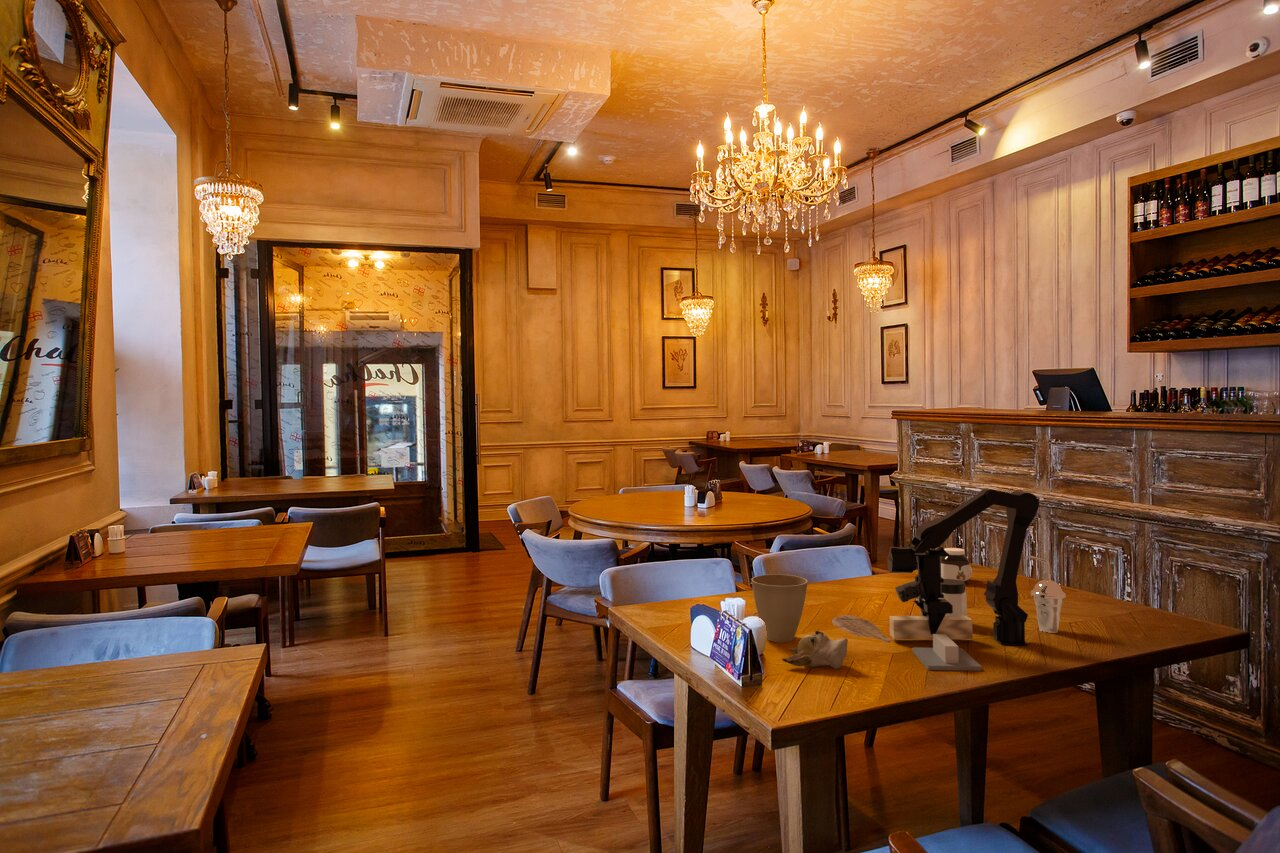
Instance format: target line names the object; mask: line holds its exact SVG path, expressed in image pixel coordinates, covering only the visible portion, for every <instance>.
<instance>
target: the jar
mask: <svg viewBox="0 0 1280 853" xmlns="http://www.w3.org/2000/svg"><path fill="white" fill-rule="evenodd" d="M941 589H942V593H943V594H944V598H939V599H946V600H947V601H948V602H949V603H950V604H951V605H952V606H953V613H951V614H949V613H946V615H945V616H968V615H967V614H968V613H967V612H968V611H967V610H968V609H967V608H968V607H967V591H966V583H964V582H963V581H960V580H955V579H944V583H941Z"/></svg>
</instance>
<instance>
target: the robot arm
mask: <svg viewBox="0 0 1280 853" xmlns="http://www.w3.org/2000/svg"><path fill="white" fill-rule="evenodd" d="M994 505H995V506H1000V507H1005V513H1006V518H1007V527H1006V532H1005V536H1004V541H1003V546H1002V551H1001V557H1000V559H999V566H998V570H997V575H996V576H995V578H994V579H993V581H991V580H990V579H989V580H987V581H986V589H985V591H984V593H983V595H984V596H985V602H986V603H987V605H988V606H989V608H992V611H993V613H994V614H995V615H996V616H995V617H994V619H995V621H994V622H993V623H992V624H993V626H992V629H993V633H992V634H993V636H992V639H993V640H995V641H996V642H998V643H999V644H1001V645H1002V646H1006V645H1007V646H1010V645H1011V646H1028V645H1029V644H1028V643H1029V642H1027V641H1026V635H1025V634H1026V629H1025V628H1026V627H1025V626H1026V622H1027V619H1028V616H1029V614H1028V613H1027V612H1026V611H1025V610H1023V609H1022V608H1021V606H1019V589H1018V586H1017V584H1018V583H1017V578H1018V574H1019V570H1020V569H1019V568H1020V564H1021V559H1022V556H1023V551H1024V545H1025V541H1026V536H1027V531H1028V528H1029V527H1030V525H1031V523H1032V522H1033V521H1034V519H1035V517H1036V516H1037V513H1038V512H1039V508H1040V500H1039V498H1038V497H1037V496H1036V495H1035V494H1034V493H1032V492H1027V491H1023V490H1018V489H1017V490H1013V491H1012V492H1007V491H1001V490H995V489H991V488H988V487H987V488H983V489H981V490H980V491H979V492H978V493H977V494H975V495H974V496H972V497H970V498H969V499H967V500H966V501H964V502H963V503H961V504H960V505H958V506H957V507H955V508H954V509H953V510H951V511H950V512H948V513H946V514H945V515H943V516H941V517H939V518H935V519H932V520H930V521H927V522H924V523H922V524H920V525H919V526H918V527H916V529H915V533H914V535H915V536H914V537H913V538H912V540H911V541H910V542H909V544H907V547H903V546H902V547H901V546H900V547H899V546H890V547H889V552H888V555H887V559H886V560H887V569H888V572H889V573H890V574H913V572H914V571H916V570H917V574H915V576H914V580H913V581H910V582H906V583H904V584H900V585H898V586H895V591H896V594H897V596H898V599H899V600H900V601H901V603H907V602H909V601H910V600H912V599H915V600H913V603H914V604H915V605H916V606H918V608H919V610H920V612H921V616H927V617H928V623H929V628H930V633H931V635H933V634H936V632H937V630H938V628H939V626H940V624H941V622H942V620H943V618H944V616H945V615H946V613H949V614H951V613H953V606H952V605H951V604H950V603H949V602H948V601H947V600H946V599H939V598H944V594H943V593H942V589H941V583H944V579H943V578H942V577H941V557H948V556H949V554H948V553H947V552H946V551H945V550H944V549H945V548H944V547H943V546H941V545H943V544H944V543H945V542H946V541H947V540H948V539H949V538H950V536H951V535H952V533H953V532H954V531H956V530H957V529H958V528H959V527H961V526H963V525H964V524H966V523H967V522H969V521H970V520H971V519H973V518H975V517H976V516H978V515H980V514H981V513H982V512H984V511H985V510H987V509H988V508H990V507H992V506H994Z"/></svg>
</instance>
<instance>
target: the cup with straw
mask: <svg viewBox="0 0 1280 853" xmlns="http://www.w3.org/2000/svg"><path fill="white" fill-rule="evenodd" d="M1028 558H1029V559H1032V560H1036V561H1040V562H1043V563H1045V564H1046V579H1043V580H1040V581H1038V582H1037V583H1036V584H1035V585H1034V587H1033V589H1031V590H1030V595H1031V596H1033V600H1034V604H1035V610H1036V611H1035V612H1036V618H1037V624H1038V626H1039V628H1038V631H1040V632H1042V631H1043V633H1046V632H1048V634H1056V633H1059V630H1058V629H1059V625H1060V616H1061V609H1062V604H1063V599H1065V598H1066V597H1067V596H1066V593H1065V592H1064V591H1063V589H1062V587H1061V586H1060V585H1059V583H1058V582H1055V581H1054V580H1051V579H1050V578H1051V576H1050V575H1051V573H1050V572H1051V570H1050V569H1051V567H1050V566H1051V565H1050V562H1049V561H1048V560H1047V559H1044V558H1041V557H1036V556H1034V555H1030V554H1029V555H1028Z"/></svg>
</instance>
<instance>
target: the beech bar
mask: <svg viewBox="0 0 1280 853" xmlns="http://www.w3.org/2000/svg"><path fill="white" fill-rule="evenodd" d="M936 634H946V635H947V636H948V637H949V638H950V639H951V640H973V638H974V637H973V619H972V618H970V617H969V616H968V615H967V616H944V618H943V620H942V622H941V624H940V626H939V628H938V630H937V632H936ZM889 635H890V637H891V638H892V639H893V640H933V635H931V633H930V628H929V623H928V617H927V616H922V615H889Z"/></svg>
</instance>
